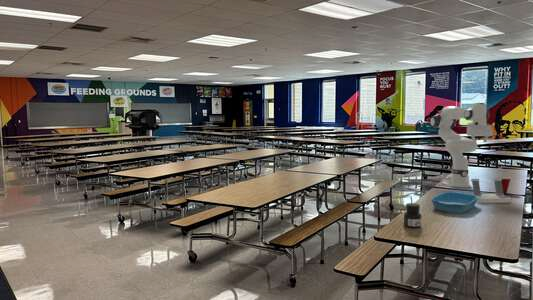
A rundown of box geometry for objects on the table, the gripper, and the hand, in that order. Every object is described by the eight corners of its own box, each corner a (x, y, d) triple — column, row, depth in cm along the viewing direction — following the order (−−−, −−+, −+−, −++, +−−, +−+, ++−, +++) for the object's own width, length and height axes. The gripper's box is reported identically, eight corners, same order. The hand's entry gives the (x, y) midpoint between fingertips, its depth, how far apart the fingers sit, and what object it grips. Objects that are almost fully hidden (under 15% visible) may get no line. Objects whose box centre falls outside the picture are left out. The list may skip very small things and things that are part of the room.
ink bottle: (409, 229, 201) (410, 207, 199) (399, 224, 209) (400, 203, 208) (425, 227, 203) (426, 205, 202) (414, 223, 212) (415, 202, 211)
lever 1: (473, 196, 263) (471, 179, 266) (479, 196, 263) (477, 179, 266) (475, 195, 261) (472, 178, 264) (481, 195, 261) (479, 178, 264)
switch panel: (467, 198, 269) (467, 193, 269) (497, 197, 270) (497, 193, 270) (478, 203, 256) (479, 198, 255) (510, 202, 256) (510, 197, 256)
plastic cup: (505, 191, 291) (506, 175, 290) (513, 194, 281) (514, 178, 280) (491, 191, 293) (491, 175, 291) (498, 194, 282) (498, 178, 281)
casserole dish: (464, 217, 223) (465, 205, 223) (426, 210, 239) (426, 199, 238) (481, 205, 250) (482, 194, 249) (446, 200, 265) (446, 190, 265)
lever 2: (496, 195, 263) (493, 179, 266) (502, 195, 264) (499, 178, 266) (498, 195, 261) (495, 178, 264) (504, 195, 261) (501, 178, 264)
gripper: (488, 124, 290) (488, 142, 290) (465, 123, 286) (465, 141, 285) (494, 123, 284) (494, 142, 284) (471, 122, 280) (471, 141, 279)
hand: (479, 142), depth 284 cm, fingers open, 8 cm apart
